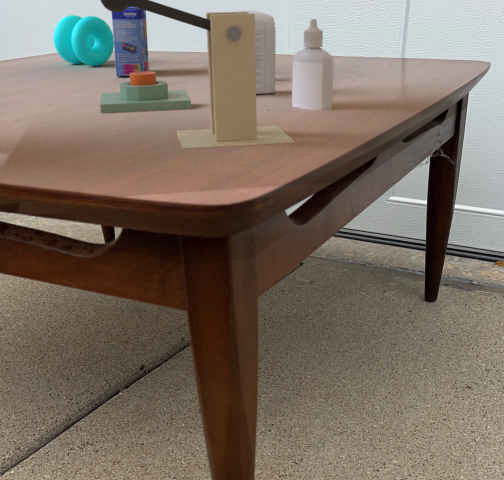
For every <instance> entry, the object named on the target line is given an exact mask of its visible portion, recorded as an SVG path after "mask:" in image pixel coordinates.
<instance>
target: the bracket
mask: <svg viewBox="0 0 504 480" xmlns="http://www.w3.org/2000/svg"><path fill="white" fill-rule="evenodd" d="M205 18H206V19H209V20H210V21H211V31H209V30H206V44H207V45H206V46H207V48H206V49H207V68H208V93H209V94H208V95H209V114H210V128H203V129H183V130H176V135H177V137H178V141H179V143H180V146H181V149H182V150H191V149H192V150H193V149H194V150H195V149H209V148H211V149H212V148H228V147H229V148H230V147H246V146H263V145H279V144H280V145H281V144H295V143H296V141H295V140H294V139H293V138H292V137H291V136H289V134H288V133H286V131H285V130H283V129H282V128H281V127H280V125H278V124H277V125H276V124H275V125H260V126H259V125H258V126H257V124H258V123H257V94H256V59H255V14H253V13H248V12H232V11H221V12H220V11H217V12H205Z"/></svg>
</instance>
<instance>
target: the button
mask: <svg viewBox="0 0 504 480" xmlns="http://www.w3.org/2000/svg"><path fill="white" fill-rule="evenodd" d="M156 80H157V72H156V71H150V70H149V71H140V72H132V73H130V77H129V81H130V85H153V84H157V81H156Z"/></svg>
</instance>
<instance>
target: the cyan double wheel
mask: <svg viewBox="0 0 504 480" xmlns="http://www.w3.org/2000/svg"><path fill="white" fill-rule="evenodd" d="M53 45H54V48H55V50H56V52H57V54H58V56H59V57H60V58H61V59H63V60H64V61H65V62H67V63H69V64H72V65H80V64H84V65H87V66H90V67H98V66H102V65H103V64H106V63H107V62H108V61H109V59H110V58H111V56H112V54H113V53H114V39H113V30H112V29H111V27H110V26H109V24H108V23H107V22H106V21H105V20H104V19H102V18H100V17H98V16H95V15H87V16H84V17H82V16H79V15H75V14H74V15H73V14H72V15H71V14H70V15H67V16H64V17H63V18H61V19H60V20H59V21H58V22H57V24H56V25H55V28H54V31H53Z"/></svg>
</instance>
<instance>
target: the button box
mask: <svg viewBox="0 0 504 480" xmlns="http://www.w3.org/2000/svg"><path fill="white" fill-rule="evenodd" d="M156 81H157V84H153V85H130V80H128V81H124V82H120V83H119V91H118V92H102V93H101V97H100V101H99V107H100V108H99V111H100V114H114V113H134V112H135V113H137V112H154V111H155V112H156V111H176V110H191V109H192V99H190V97H189V94H188V93H187V91H186V89H185V88H184V89H169V86H168V82H167V80H161V79H156Z"/></svg>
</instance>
